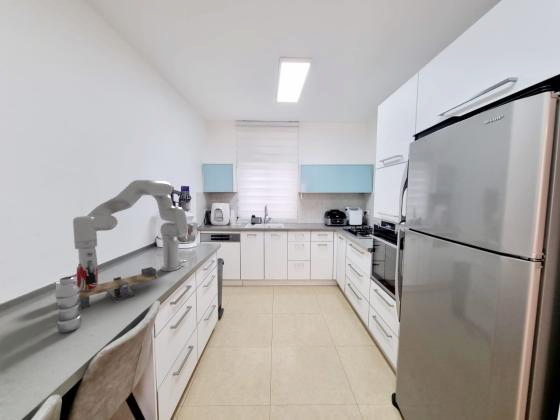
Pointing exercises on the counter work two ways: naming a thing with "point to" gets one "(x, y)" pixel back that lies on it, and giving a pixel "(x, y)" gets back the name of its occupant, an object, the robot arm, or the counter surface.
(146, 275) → the beam
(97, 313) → the counter surface
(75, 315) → the plastic bottle
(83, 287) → the soda can
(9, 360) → the counter surface
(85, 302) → the beam stand
